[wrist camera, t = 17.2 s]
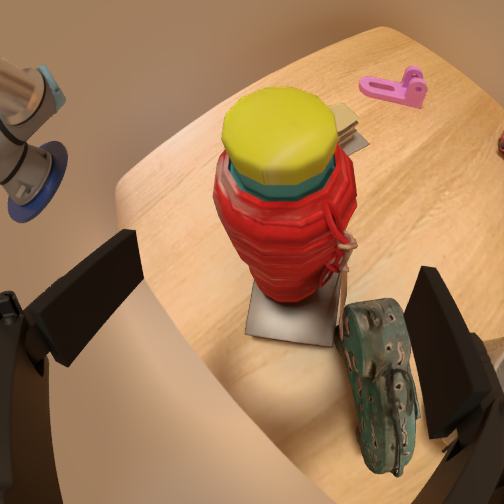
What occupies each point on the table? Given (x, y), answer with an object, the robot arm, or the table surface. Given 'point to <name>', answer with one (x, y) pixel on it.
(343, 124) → the stacked layers on plate
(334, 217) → the water bottle
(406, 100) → the bracket
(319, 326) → the walnut stand
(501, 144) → the pencil case
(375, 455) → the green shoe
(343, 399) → the table surface
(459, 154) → the table surface
